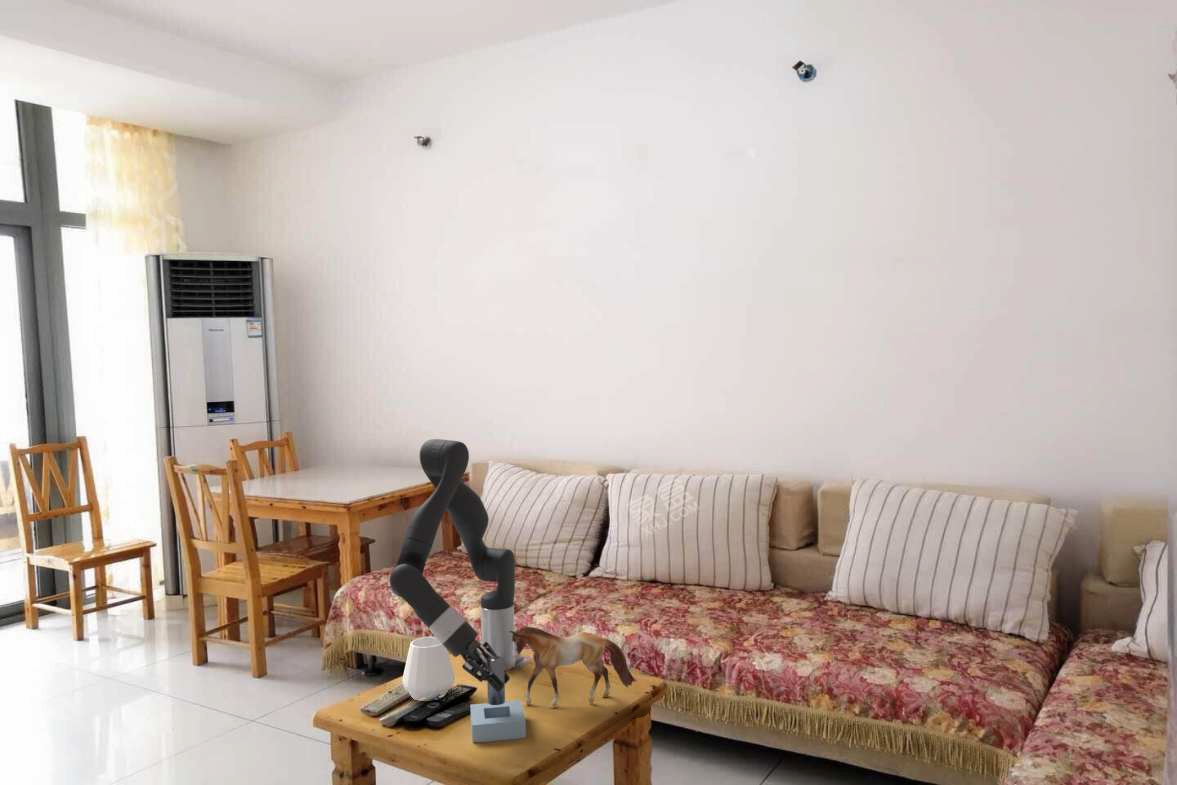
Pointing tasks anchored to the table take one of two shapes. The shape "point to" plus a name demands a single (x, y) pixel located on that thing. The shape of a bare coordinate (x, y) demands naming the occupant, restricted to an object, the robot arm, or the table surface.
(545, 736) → the table surface
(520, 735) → the socket block
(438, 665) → the white tapered hollow vessel
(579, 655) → the horse figurine
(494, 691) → the pin
